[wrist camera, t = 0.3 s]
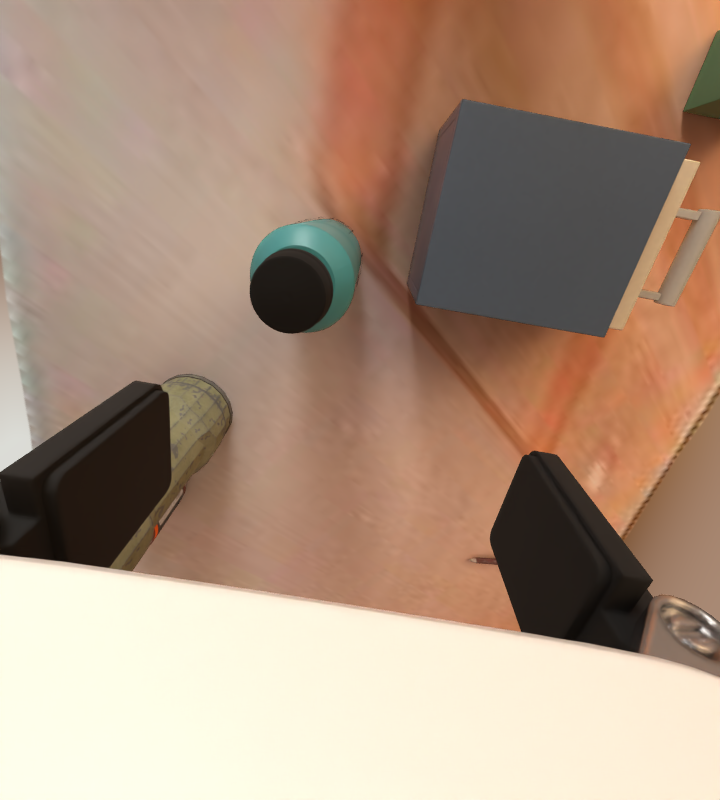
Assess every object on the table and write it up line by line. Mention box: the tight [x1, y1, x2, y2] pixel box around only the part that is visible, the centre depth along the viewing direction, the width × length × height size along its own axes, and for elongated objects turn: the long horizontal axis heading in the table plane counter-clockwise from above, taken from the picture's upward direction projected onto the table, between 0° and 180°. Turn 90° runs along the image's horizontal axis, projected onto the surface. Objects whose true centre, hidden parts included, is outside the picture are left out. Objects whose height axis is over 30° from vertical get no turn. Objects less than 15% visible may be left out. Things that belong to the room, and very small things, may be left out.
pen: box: [470, 558, 498, 565], centre depth 52 cm, size 11×1×1 cm, turn 88°
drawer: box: [609, 159, 720, 330], centre depth 31 cm, size 18×11×8 cm, turn 81°
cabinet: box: [407, 99, 691, 337], centre depth 31 cm, size 15×13×10 cm
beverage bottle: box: [250, 217, 363, 334], centre depth 28 cm, size 6×7×20 cm
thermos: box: [109, 374, 233, 571], centre depth 29 cm, size 9×12×35 cm
